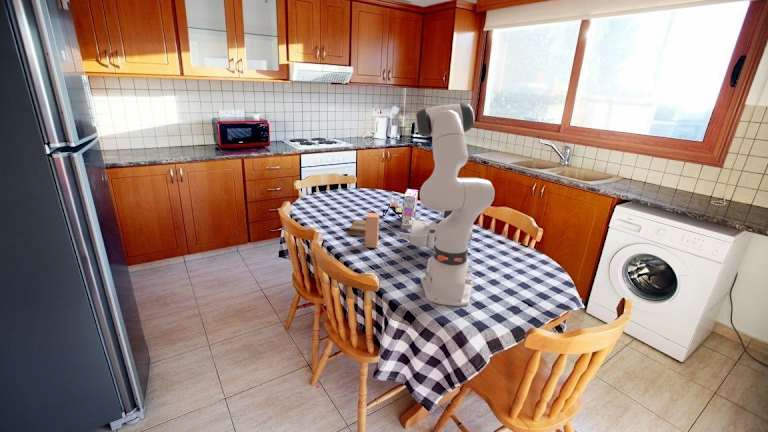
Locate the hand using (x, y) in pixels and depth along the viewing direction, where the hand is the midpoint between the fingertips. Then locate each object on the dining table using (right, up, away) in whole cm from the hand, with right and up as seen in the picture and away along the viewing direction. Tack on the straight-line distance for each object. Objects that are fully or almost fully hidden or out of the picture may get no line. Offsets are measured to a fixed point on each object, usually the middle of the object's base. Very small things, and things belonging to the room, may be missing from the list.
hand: (400, 230), depth 161 cm
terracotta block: (-12, -7, +4) cm, 15 cm away
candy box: (+6, +2, +33) cm, 33 cm away
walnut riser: (-16, -1, +19) cm, 25 cm away
